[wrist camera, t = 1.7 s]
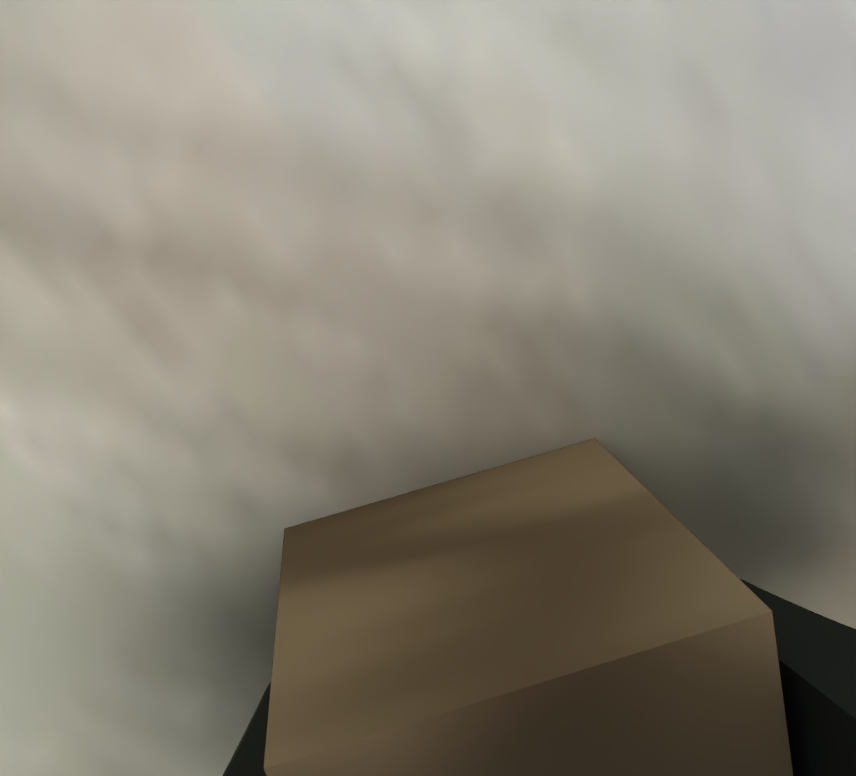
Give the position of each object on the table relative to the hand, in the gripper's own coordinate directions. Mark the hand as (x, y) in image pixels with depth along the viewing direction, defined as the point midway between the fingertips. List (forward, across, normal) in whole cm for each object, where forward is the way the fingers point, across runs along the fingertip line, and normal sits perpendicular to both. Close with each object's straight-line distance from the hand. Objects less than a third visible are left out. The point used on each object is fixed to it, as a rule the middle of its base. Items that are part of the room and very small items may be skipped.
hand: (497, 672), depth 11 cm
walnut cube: (+2, 0, 0) cm, 2 cm away
